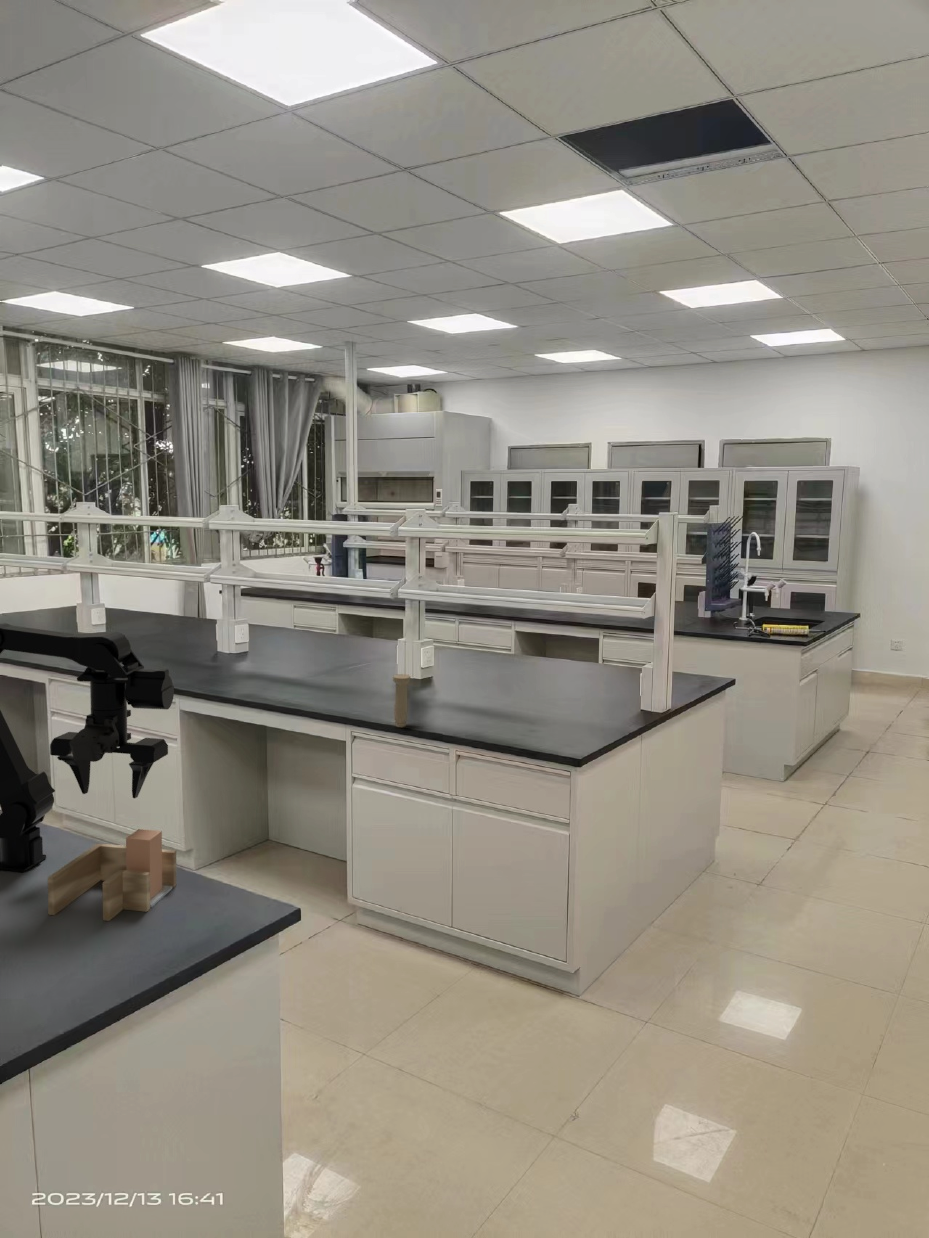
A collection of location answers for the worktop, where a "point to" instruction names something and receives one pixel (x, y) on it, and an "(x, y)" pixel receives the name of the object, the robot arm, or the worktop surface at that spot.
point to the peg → (146, 856)
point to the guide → (108, 880)
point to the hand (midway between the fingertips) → (110, 795)
